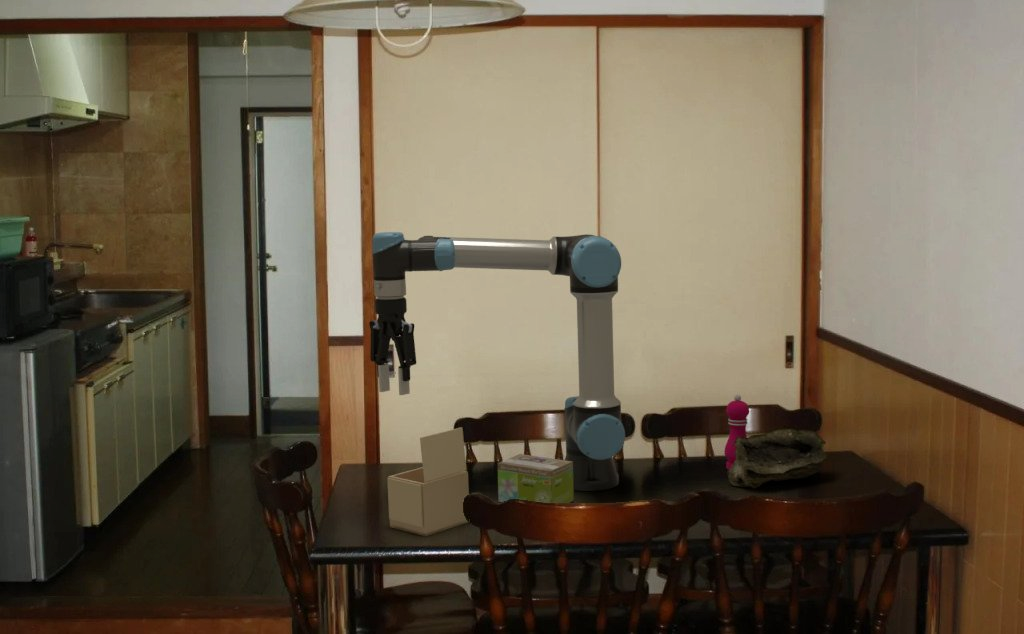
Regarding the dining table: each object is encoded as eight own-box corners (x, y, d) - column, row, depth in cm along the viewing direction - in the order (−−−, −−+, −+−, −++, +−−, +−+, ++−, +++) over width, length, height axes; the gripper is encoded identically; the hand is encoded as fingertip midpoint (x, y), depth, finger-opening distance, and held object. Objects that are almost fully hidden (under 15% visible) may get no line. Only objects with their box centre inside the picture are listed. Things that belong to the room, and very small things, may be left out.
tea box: (497, 524, 280) (495, 461, 278) (521, 513, 288) (519, 452, 286) (552, 533, 272) (551, 469, 270) (575, 521, 280) (574, 459, 278)
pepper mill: (756, 470, 321) (756, 396, 319) (731, 472, 320) (730, 398, 317) (744, 464, 328) (744, 391, 326) (720, 466, 326) (719, 393, 324)
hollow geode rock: (821, 492, 315) (799, 443, 324) (843, 467, 306) (820, 417, 314) (727, 502, 306) (707, 451, 314) (746, 476, 296) (726, 424, 305)
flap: (465, 470, 280) (461, 427, 280) (466, 470, 280) (462, 427, 280) (424, 481, 271) (419, 437, 270) (425, 481, 271) (421, 437, 270)
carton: (434, 512, 291) (432, 463, 290) (471, 521, 283) (469, 471, 281) (386, 527, 280) (384, 476, 279) (423, 537, 272) (421, 485, 270)
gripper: (351, 296, 292) (356, 391, 294) (406, 301, 279) (410, 399, 281) (375, 293, 297) (379, 386, 300) (429, 297, 284) (433, 394, 287)
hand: (394, 392), depth 291 cm, fingers open, 6 cm apart
